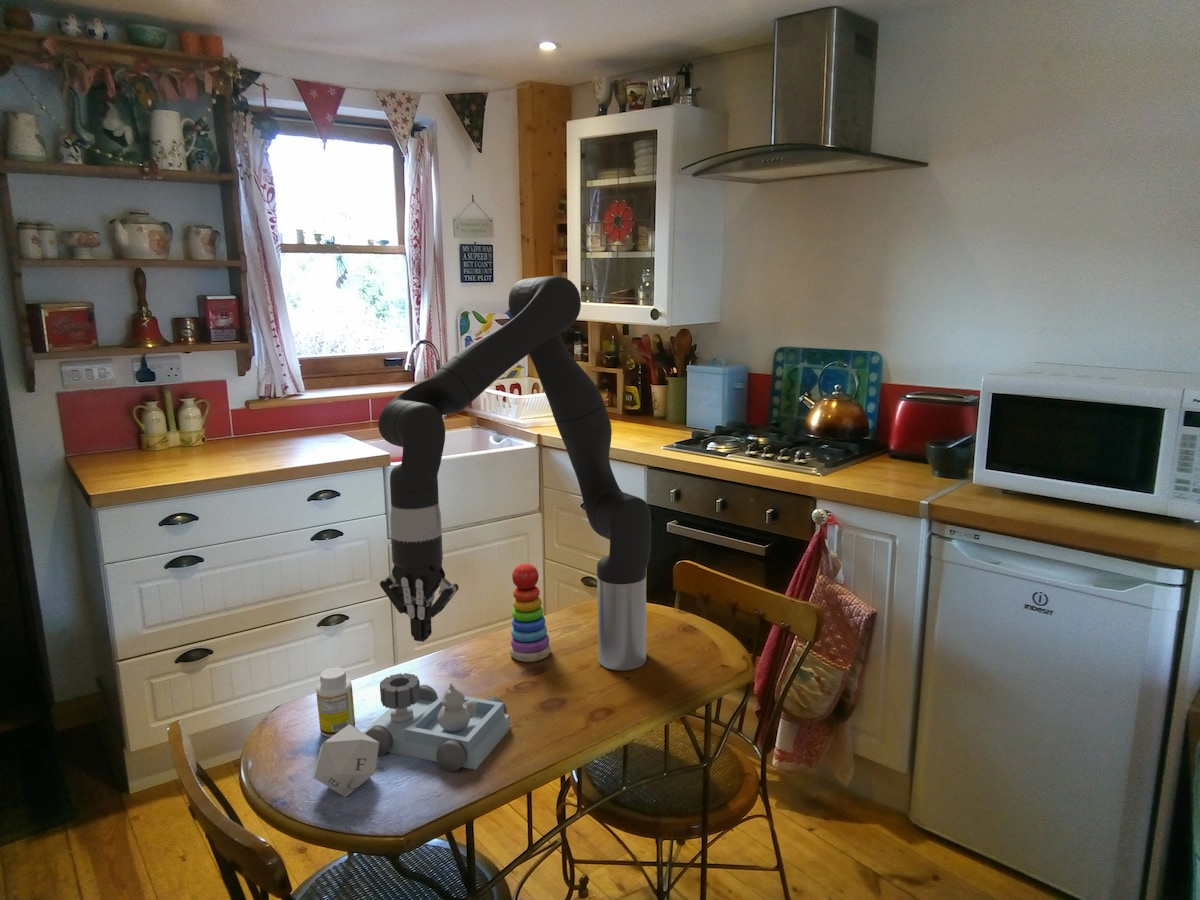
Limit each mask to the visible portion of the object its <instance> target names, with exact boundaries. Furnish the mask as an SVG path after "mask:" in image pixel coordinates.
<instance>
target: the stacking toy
mask: <svg viewBox="0 0 1200 900" xmlns="http://www.w3.org/2000/svg"><path fill="white" fill-rule="evenodd" d="M511 576H512V577H511V578H512V582H513V584H514V585H515V587H516V588H514V590H513V593H512V595H513V597H514V600H513V602H512V605H513V609H512V612H511V613H512V617H513V618H512V621H511V623H512V624H511V625H512V627H511V630H510V634H511V638H510V639H511V640H510V645H511V646H510V647H509V648H510V649H509V652H510V655H511V658H513V659H515V660H517V661H519V662H525V663H532V662H538V661H542V660H544V659H545V658H547V657H548V656H549V655H550V653H551V649H552V648H551V644H550V636H549V635H548V628H547V626H546V618H545V615H543V613H544V610H543V607H542V604H543V603H542V599H541V597H540V594H541V593H540V592H541V591H540V588H539V587H538V586H536V585H537V584H538V581H539V571H538V569H537V568H536V567H535V566H534V565H533V564H530V563H520V564H519V565H517V566H516V567H514V570H513V572H512V575H511Z"/></svg>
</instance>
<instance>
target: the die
mask: <svg viewBox="0 0 1200 900" xmlns="http://www.w3.org/2000/svg"><path fill="white" fill-rule="evenodd" d="M378 749H379V742H377V741H376V740H374V739H372V738H371V737H369V736H368V735H366V734H364V733H363V731H361V730H359V729H358V728H356V727H353V726H351V725H350V724H349V725H347V726H346V727H345V728H343V729H342V730H340V731H339V732H338V733H336V734H335V735H333V736H332V737H328V739H327V740H325V741H324V742H323V743H322V744H321V746H320V748H319V753H318V758H317V762H316V766H315V771H314V775H313V779H315V780H316V781H318V782H320V783H322V784H323V785H324V786H327V787H328V788H329V789H331V790H333V791H335V793H338V794H339V795H341V796H343V797H344V798H346V797H347V796H349V795H350V794H351V793H352V792H353V791H355V790H357V788H358V787H360V786H362V784H364V783H365V782H366V781H368V780H369V779H370V778H371V777H372V776H373V775H375V773H376V768H377V767H376V766H377V761H378V756H377V755H378Z"/></svg>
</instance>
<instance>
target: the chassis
mask: <svg viewBox="0 0 1200 900" xmlns="http://www.w3.org/2000/svg"><path fill="white" fill-rule="evenodd" d="M445 693H446V692H444V693H442V694H441V695H440V696H438V694H437V692H436V690H435V689H434V688H433V687H432V686H430V685H428V684H421V685H420V697H421V698H420V700H419V701H417V702H416V703H415V704H414V705H411V706H410V707H405V708H401V709H399V708H398V707H397V708H396V709H392V708H388V709H387V710H386V711H385V712H384V713H383V714H382V715H380V716H379V717H378V718H377V719H376V720H375V721H373V722H372V723H371V724H370V725H368V726H367V727H366V728H365V729H364V730H363V731H362V732H363V733H364V734H366V735H368V736H369V737H371V738H372V739H374V740H376V741H377V742H379V749H378V755H377V757H382V756H384V755H385V754H386V753H392V754H396V755H401V756H406V757H410V758H411V757H412V758H415V759H421V760H427V761H431V762H437V763H438V764H439V766H440V767H441V768H442V769H443V770H444V771H448V772H450V773H451V772H453V773H455V772H458V771H459V770H460V769H461V768H466V769H468V770H469V769H470V770H474V771H476V770H477V769H478V768H479V766H480V765H481V764H482V763H483V762H484V761H485V759H486V758H487V757H488V756H489V755H490V754H491V752H492V751H493V750H494V749H495V748H496V746H497V745H498V744H499V743H500V742H501V740H502V739H503V738H504V737H505V736H506V735H507V733H508V732H509V731H510V730H511V722H510V721H511V720H510V719H511V717H510V714H507V713H508V711H507V710H508V709H507V706H506V704H505V702H504V701H503V700H502V699H501V698H500V697H497V696H493V695H492V696H488V697H486V698H485V699H483V698H477V697H471V696H466V695H464V697H465V699H464V703H465V702H467V701H469V700H475V701H476V702H477V707H476V716H475V717H473V718H470V721H469V724H468V726H467V727H465V728H463V729H461V730H458V731H454V732H451V731H447V730H445V729H444V728H442V727H441V726H440V725H439V723H438V722H437V716H438V713H439V711H440V710H441V708H442V706H443V704H442V703H441V700H442V698H443V697H444V695H445Z"/></svg>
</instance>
